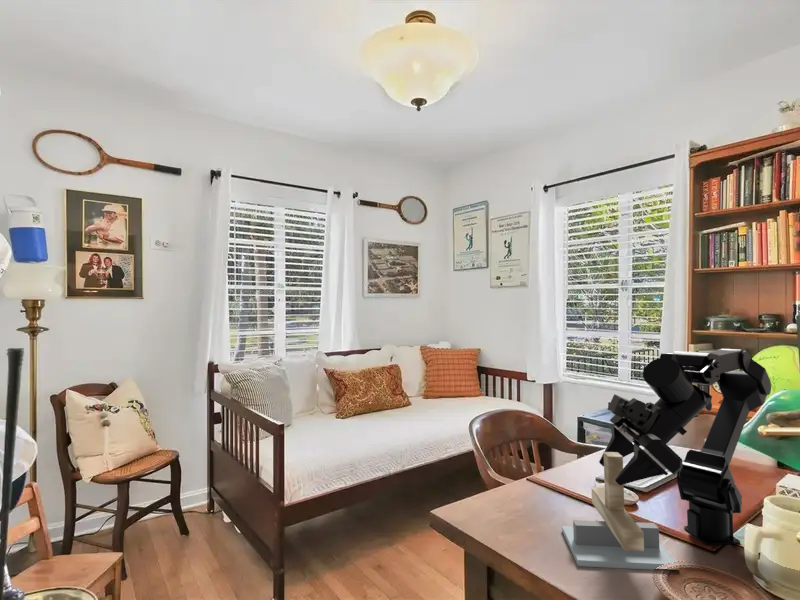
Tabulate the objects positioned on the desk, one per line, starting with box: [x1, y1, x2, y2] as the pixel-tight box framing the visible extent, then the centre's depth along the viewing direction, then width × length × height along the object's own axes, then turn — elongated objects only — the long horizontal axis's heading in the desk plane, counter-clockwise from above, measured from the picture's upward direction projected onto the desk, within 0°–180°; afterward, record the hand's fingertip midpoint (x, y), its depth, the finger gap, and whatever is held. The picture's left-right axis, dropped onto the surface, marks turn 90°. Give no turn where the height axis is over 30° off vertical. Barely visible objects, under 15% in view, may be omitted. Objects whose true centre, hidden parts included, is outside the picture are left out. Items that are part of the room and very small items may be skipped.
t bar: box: [591, 451, 644, 551], centre depth 82 cm, size 3×18×12 cm, turn 173°
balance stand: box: [561, 519, 677, 571], centre depth 82 cm, size 16×12×4 cm
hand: (608, 473), depth 82 cm, fingers open, 9 cm apart
